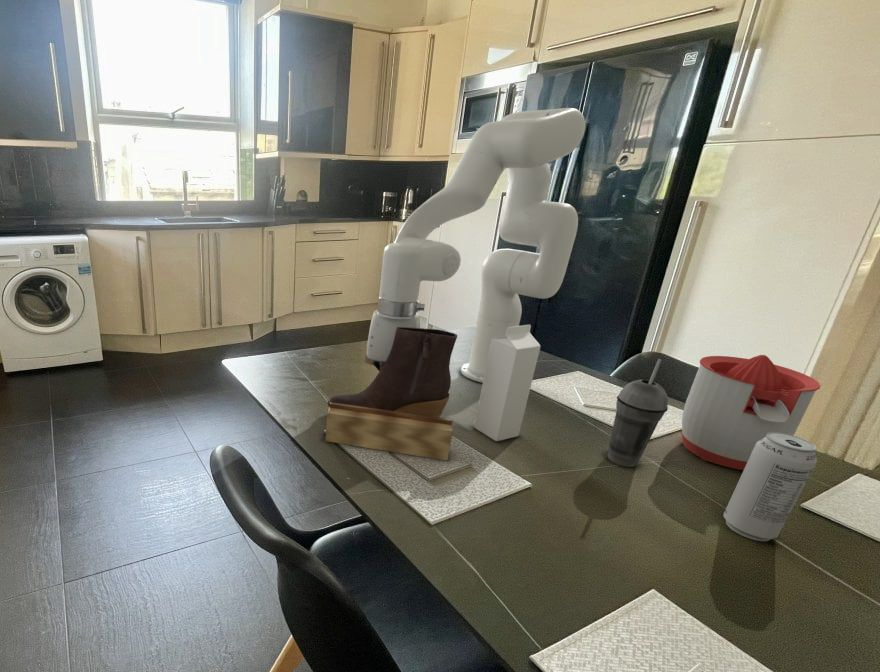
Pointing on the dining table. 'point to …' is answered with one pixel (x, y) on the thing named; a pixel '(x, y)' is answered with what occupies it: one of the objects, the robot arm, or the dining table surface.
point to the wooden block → (389, 430)
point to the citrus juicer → (742, 406)
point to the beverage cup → (636, 419)
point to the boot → (410, 375)
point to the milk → (507, 383)
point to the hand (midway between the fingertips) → (387, 390)
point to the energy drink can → (770, 485)
